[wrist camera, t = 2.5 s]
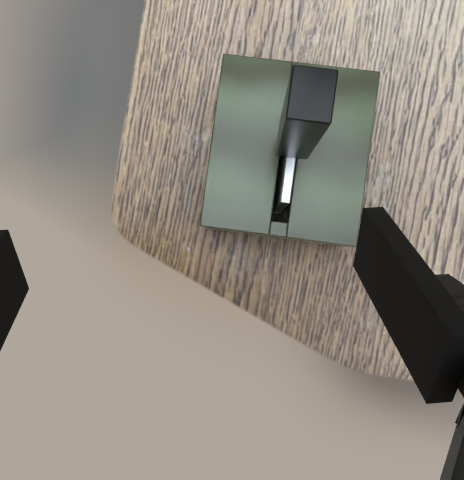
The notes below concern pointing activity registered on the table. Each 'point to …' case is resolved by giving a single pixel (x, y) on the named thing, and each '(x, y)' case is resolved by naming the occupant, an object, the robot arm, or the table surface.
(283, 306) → the table surface
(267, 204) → the knife block
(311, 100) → the black-handled knife
